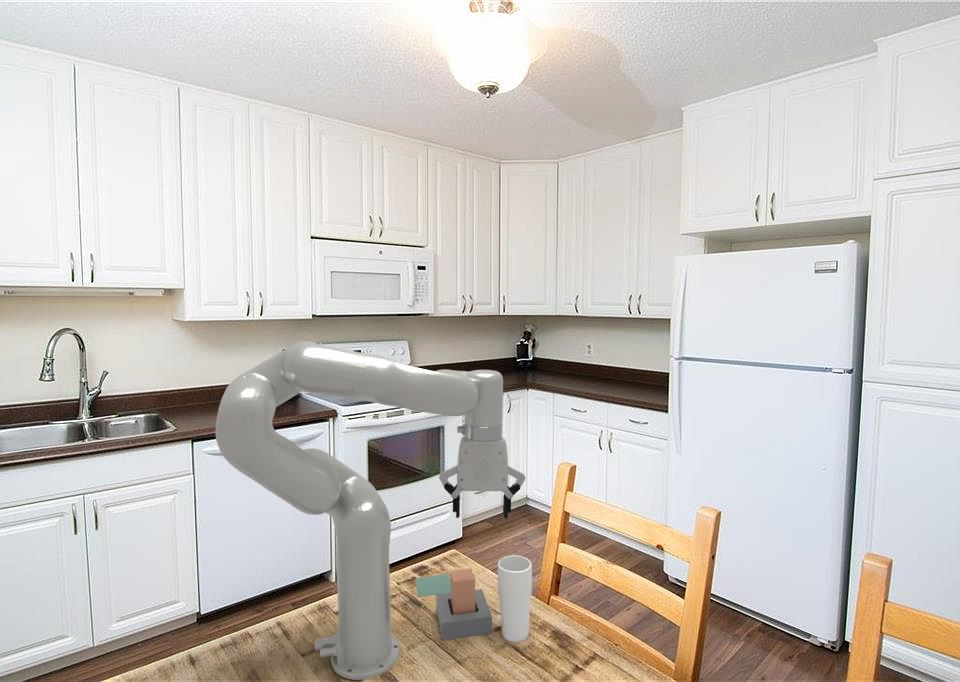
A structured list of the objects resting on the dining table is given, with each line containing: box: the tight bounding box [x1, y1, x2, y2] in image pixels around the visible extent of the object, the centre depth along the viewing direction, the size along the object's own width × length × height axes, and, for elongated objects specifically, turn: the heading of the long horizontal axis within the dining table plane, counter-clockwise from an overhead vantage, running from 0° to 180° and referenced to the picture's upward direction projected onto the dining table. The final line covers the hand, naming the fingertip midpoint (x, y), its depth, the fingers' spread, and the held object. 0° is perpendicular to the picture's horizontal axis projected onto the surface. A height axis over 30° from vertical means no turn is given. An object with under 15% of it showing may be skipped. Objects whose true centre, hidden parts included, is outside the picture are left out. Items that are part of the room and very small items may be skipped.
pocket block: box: [435, 588, 493, 641], centre depth 108 cm, size 10×10×4 cm
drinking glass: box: [497, 554, 533, 643], centre depth 103 cm, size 7×7×15 cm
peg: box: [449, 567, 476, 615], centre depth 107 cm, size 4×4×10 cm
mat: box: [415, 573, 451, 598], centre depth 121 cm, size 8×8×1 cm
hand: (481, 515), depth 105 cm, fingers open, 9 cm apart
